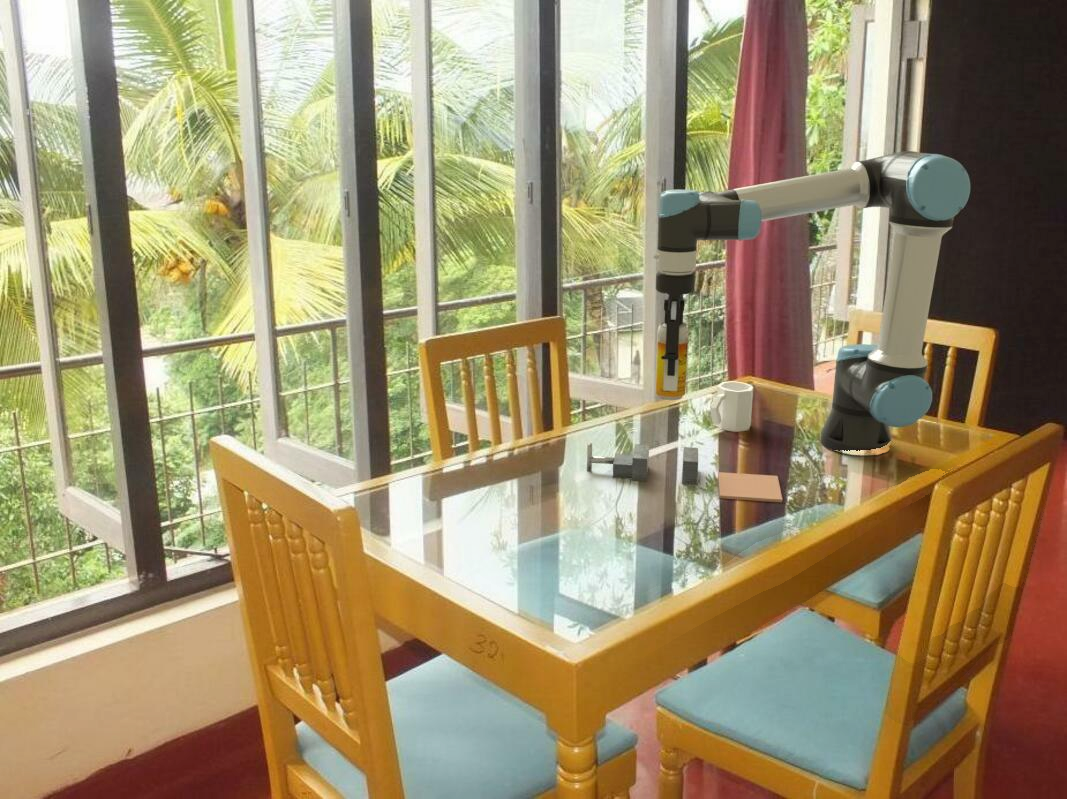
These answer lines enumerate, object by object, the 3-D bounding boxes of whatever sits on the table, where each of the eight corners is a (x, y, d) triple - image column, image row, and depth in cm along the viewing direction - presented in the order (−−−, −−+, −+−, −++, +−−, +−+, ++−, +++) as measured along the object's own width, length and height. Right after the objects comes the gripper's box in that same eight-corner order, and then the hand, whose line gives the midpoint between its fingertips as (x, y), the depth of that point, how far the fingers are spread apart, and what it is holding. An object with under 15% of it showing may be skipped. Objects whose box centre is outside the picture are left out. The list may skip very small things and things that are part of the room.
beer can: (684, 401, 188) (688, 328, 183) (653, 400, 189) (656, 327, 184) (685, 392, 194) (689, 321, 189) (656, 391, 195) (658, 320, 190)
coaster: (777, 478, 195) (777, 475, 195) (782, 502, 184) (782, 499, 184) (718, 474, 197) (718, 472, 197) (719, 498, 186) (719, 495, 186)
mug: (729, 417, 231) (732, 379, 228) (758, 426, 225) (761, 387, 222) (697, 428, 224) (699, 388, 221) (726, 438, 218) (729, 397, 215)
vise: (696, 469, 199) (698, 443, 198) (696, 484, 192) (698, 457, 190) (588, 463, 203) (589, 437, 201) (584, 477, 195) (585, 450, 194)
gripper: (658, 262, 193) (653, 371, 200) (654, 280, 175) (649, 398, 182) (695, 263, 192) (689, 372, 199) (695, 281, 174) (689, 400, 181)
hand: (670, 384), depth 191 cm, fingers closed on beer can, 6 cm apart
